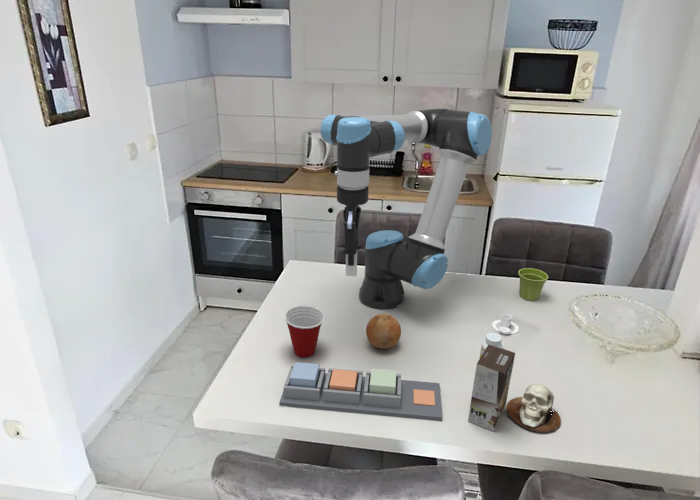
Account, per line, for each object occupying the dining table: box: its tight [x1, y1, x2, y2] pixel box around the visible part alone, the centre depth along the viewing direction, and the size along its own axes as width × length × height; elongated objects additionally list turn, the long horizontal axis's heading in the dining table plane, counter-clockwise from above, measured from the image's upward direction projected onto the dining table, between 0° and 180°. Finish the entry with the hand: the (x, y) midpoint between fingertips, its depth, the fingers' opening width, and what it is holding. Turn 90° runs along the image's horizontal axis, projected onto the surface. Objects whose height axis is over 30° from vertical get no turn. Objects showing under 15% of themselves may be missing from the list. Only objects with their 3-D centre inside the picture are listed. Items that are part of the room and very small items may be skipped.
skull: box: [506, 383, 562, 433], centre depth 113 cm, size 12×10×10 cm
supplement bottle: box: [478, 332, 504, 359], centre depth 127 cm, size 5×5×10 cm
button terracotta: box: [329, 368, 358, 392], centre depth 117 cm, size 6×6×3 cm
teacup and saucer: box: [491, 313, 520, 335], centre depth 147 cm, size 9×8×4 cm
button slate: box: [290, 361, 320, 388], centre depth 118 cm, size 6×6×3 cm
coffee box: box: [467, 345, 516, 432], centre depth 110 cm, size 9×6×16 cm
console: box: [278, 364, 443, 422], centre depth 118 cm, size 38×12×4 cm, turn 83°
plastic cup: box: [283, 304, 326, 359], centre depth 132 cm, size 11×11×12 cm
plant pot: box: [518, 267, 549, 302], centre depth 163 cm, size 9×9×9 cm
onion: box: [365, 313, 402, 350], centre depth 136 cm, size 10×10×10 cm
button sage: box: [369, 368, 397, 395], centre depth 116 cm, size 6×6×3 cm
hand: (351, 274), depth 124 cm, fingers closed
